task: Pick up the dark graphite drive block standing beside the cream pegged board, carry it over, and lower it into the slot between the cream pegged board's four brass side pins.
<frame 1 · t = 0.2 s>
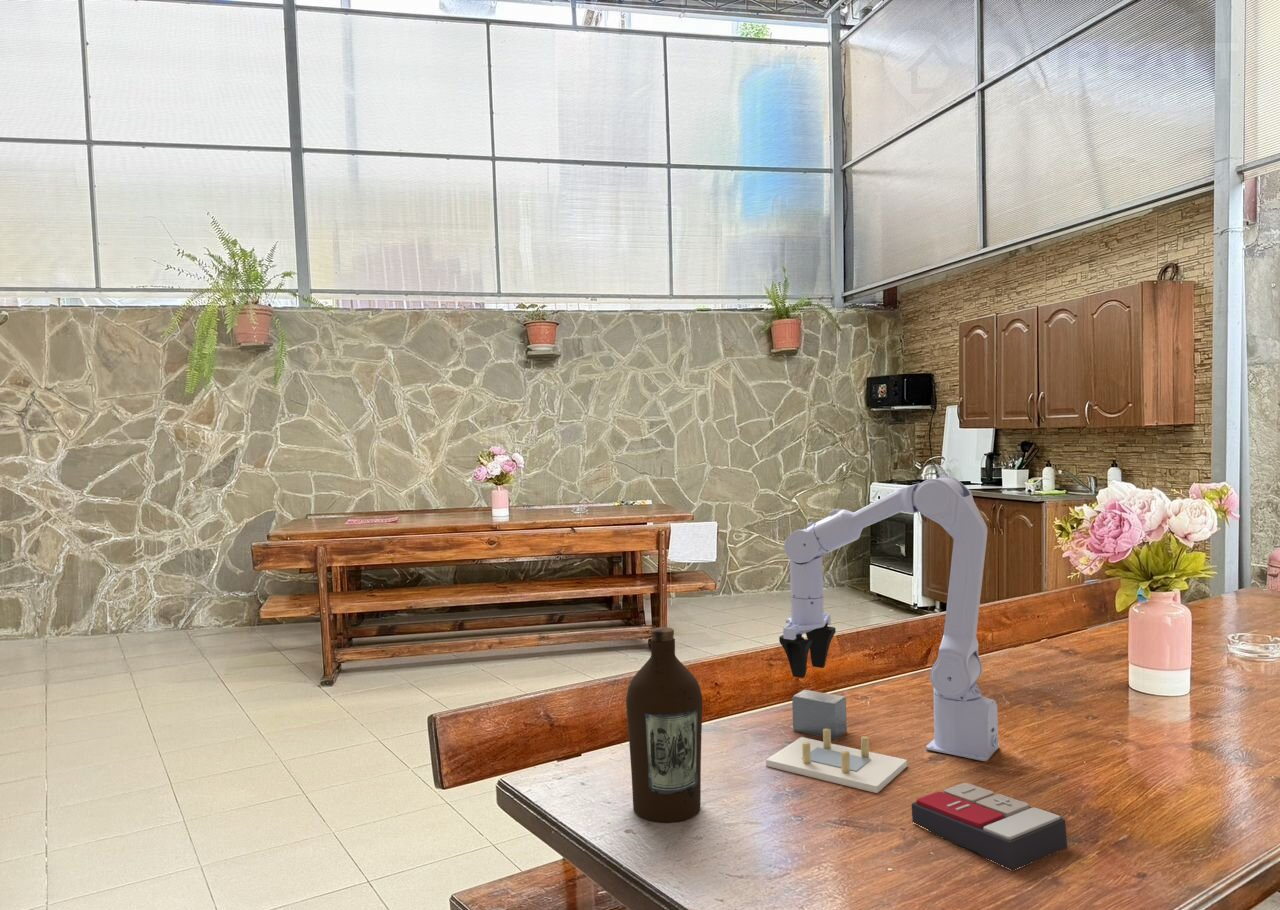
hand: (808, 671, 150), 9 cm above the table, tool pointing down, fingers open, 7 cm apart
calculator: (986, 838, 107), on the table
olive oil: (666, 809, 117), on the table
cream pegged board: (836, 766, 130), on the table
drive: (819, 731, 146), on the table
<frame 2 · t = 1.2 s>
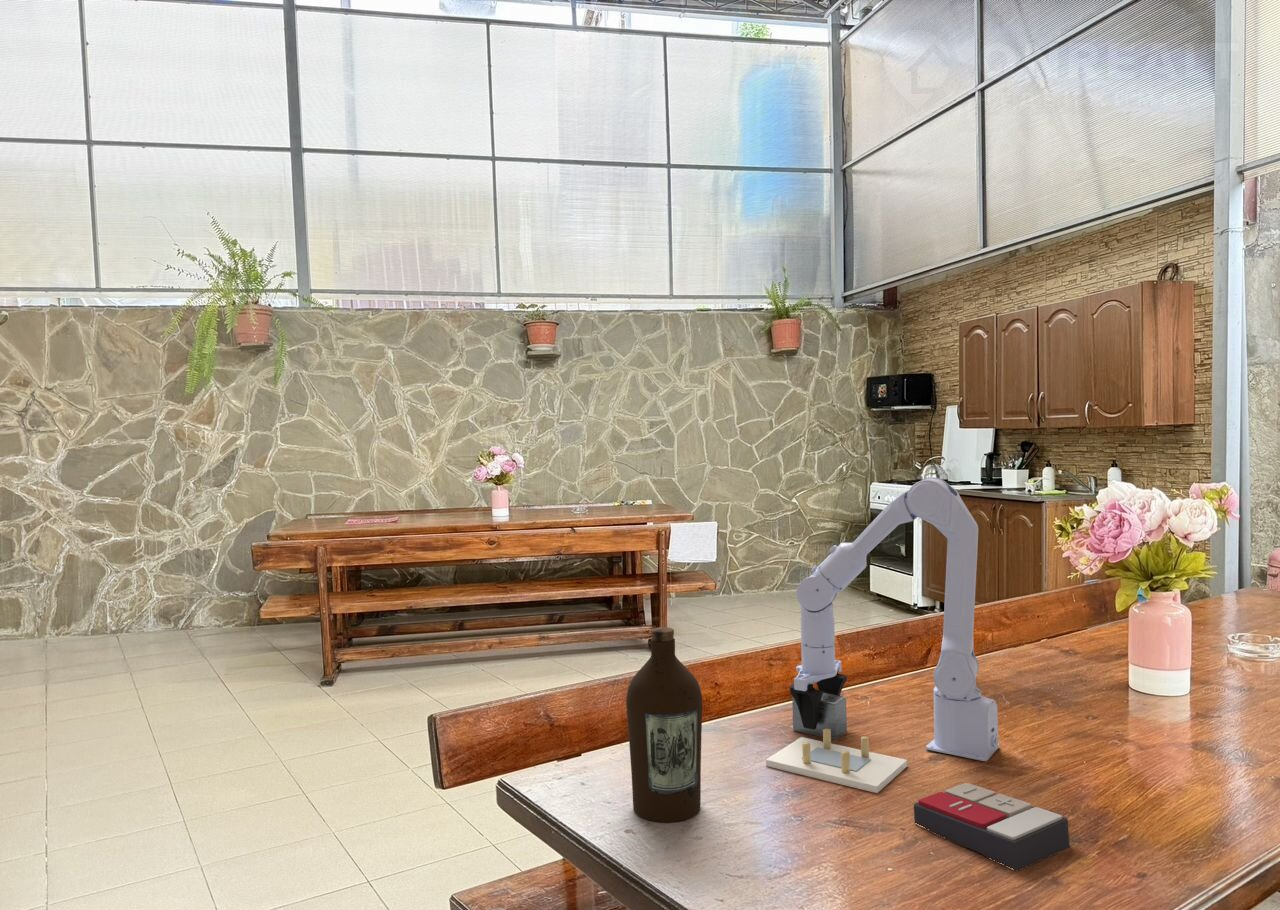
hand: (819, 721, 146), 2 cm above the table, tool pointing down, fingers open, 7 cm apart
nothing on the table moved.
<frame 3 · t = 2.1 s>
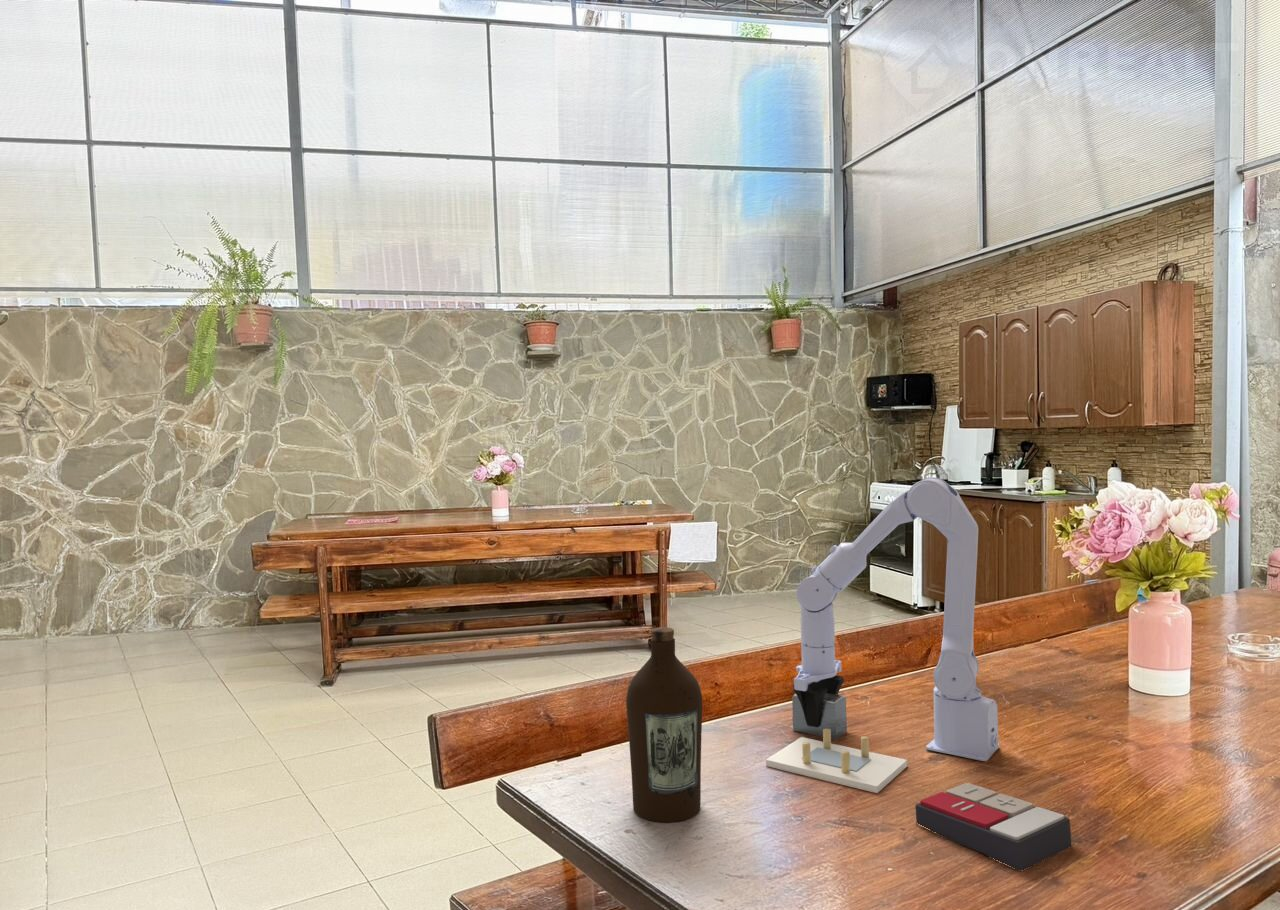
hand: (819, 721, 146), 2 cm above the table, tool pointing down, fingers closed on drive, 4 cm apart
drive: (819, 731, 146), on the table, touching gripper
everything else where it was.
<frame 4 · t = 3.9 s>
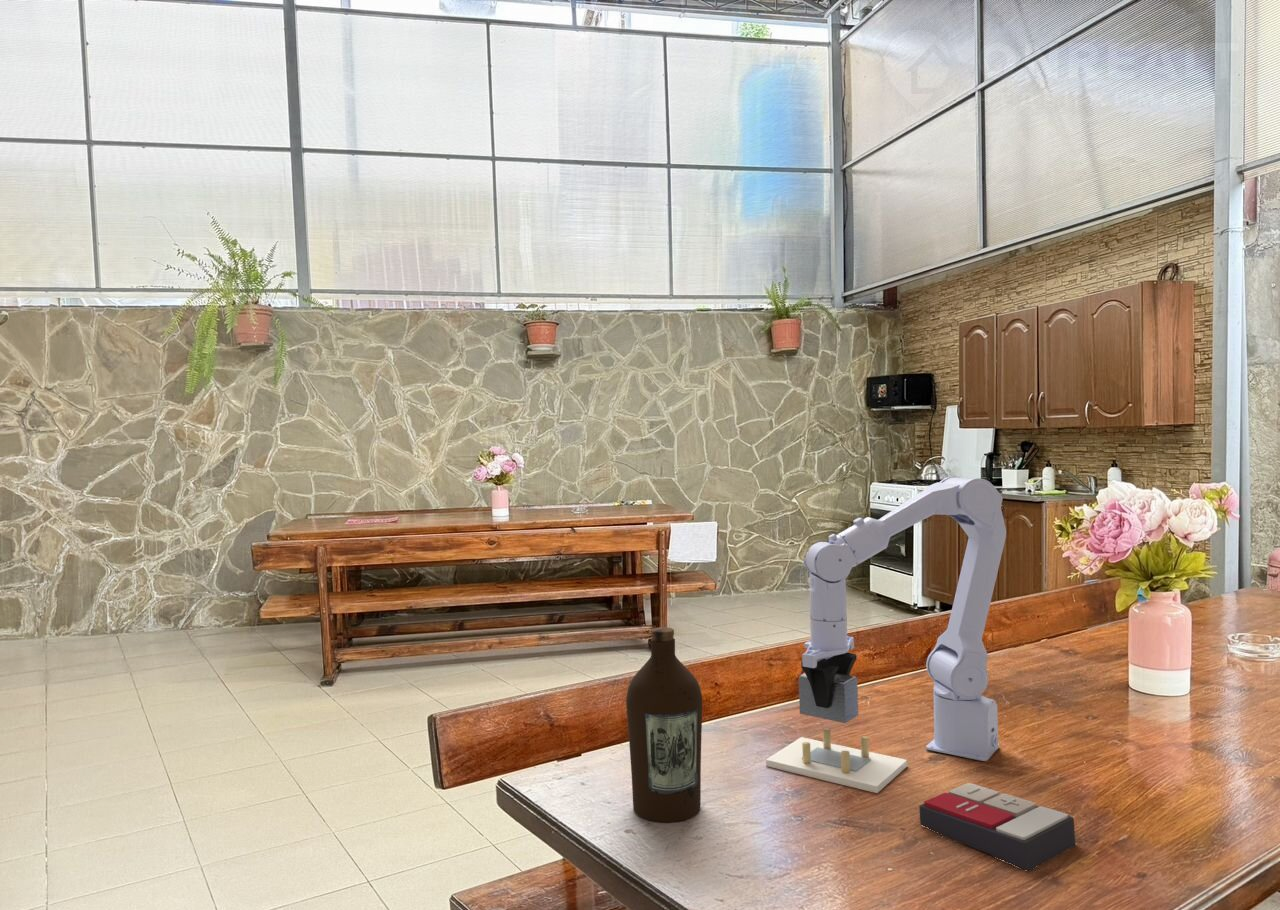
hand: (830, 702, 134), 9 cm above the table, tool pointing down, fingers closed on drive, 5 cm apart
drive: (828, 714, 135), point 7 cm above the table, touching gripper
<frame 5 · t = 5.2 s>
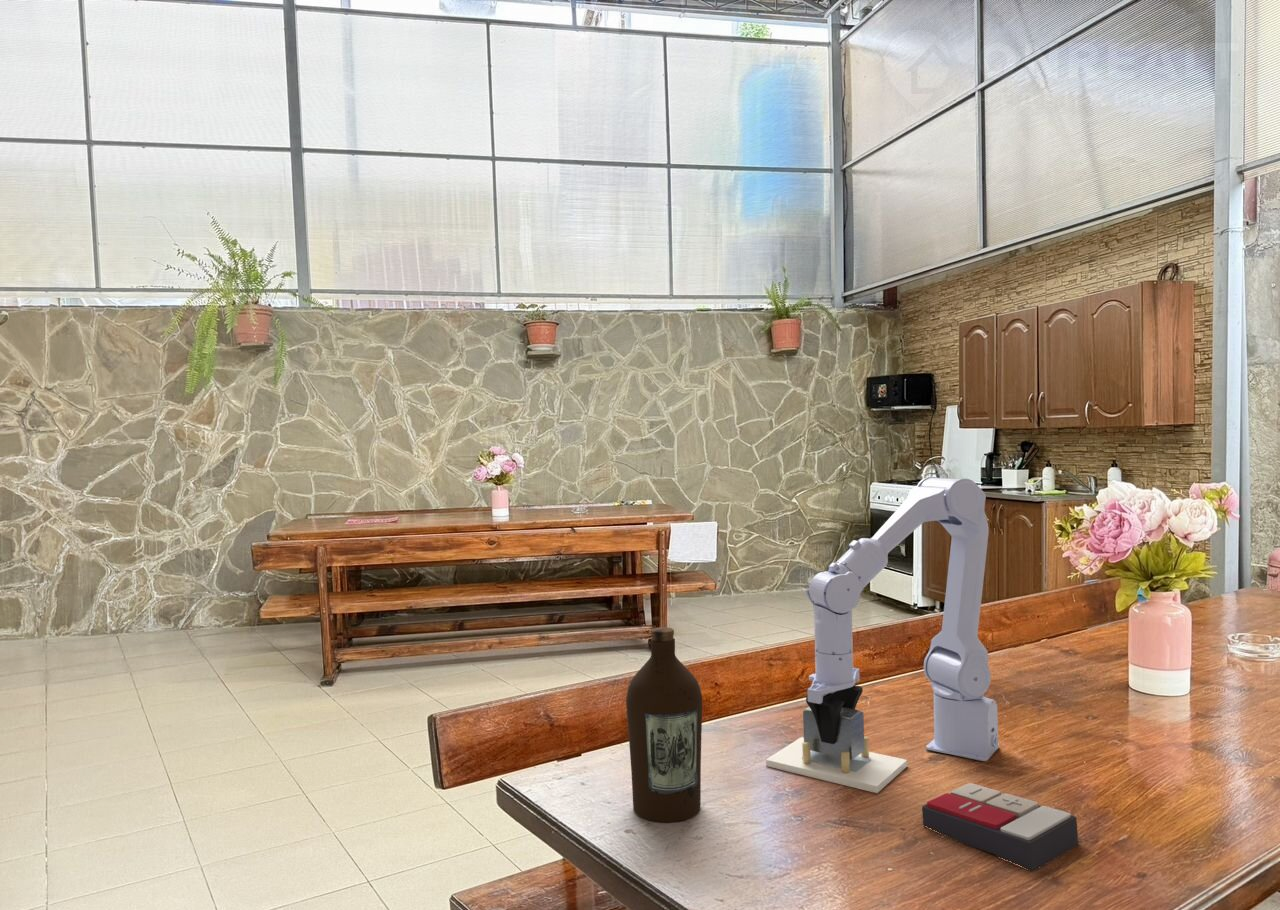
hand: (835, 737, 130), 4 cm above the table, tool pointing down, fingers closed on drive, 5 cm apart
drive: (834, 749, 130), point 2 cm above the table, touching gripper
when the fingers open (4 cm above the table, at t = 6.1 s): drive drops 1 cm, resting on cream pegged board.
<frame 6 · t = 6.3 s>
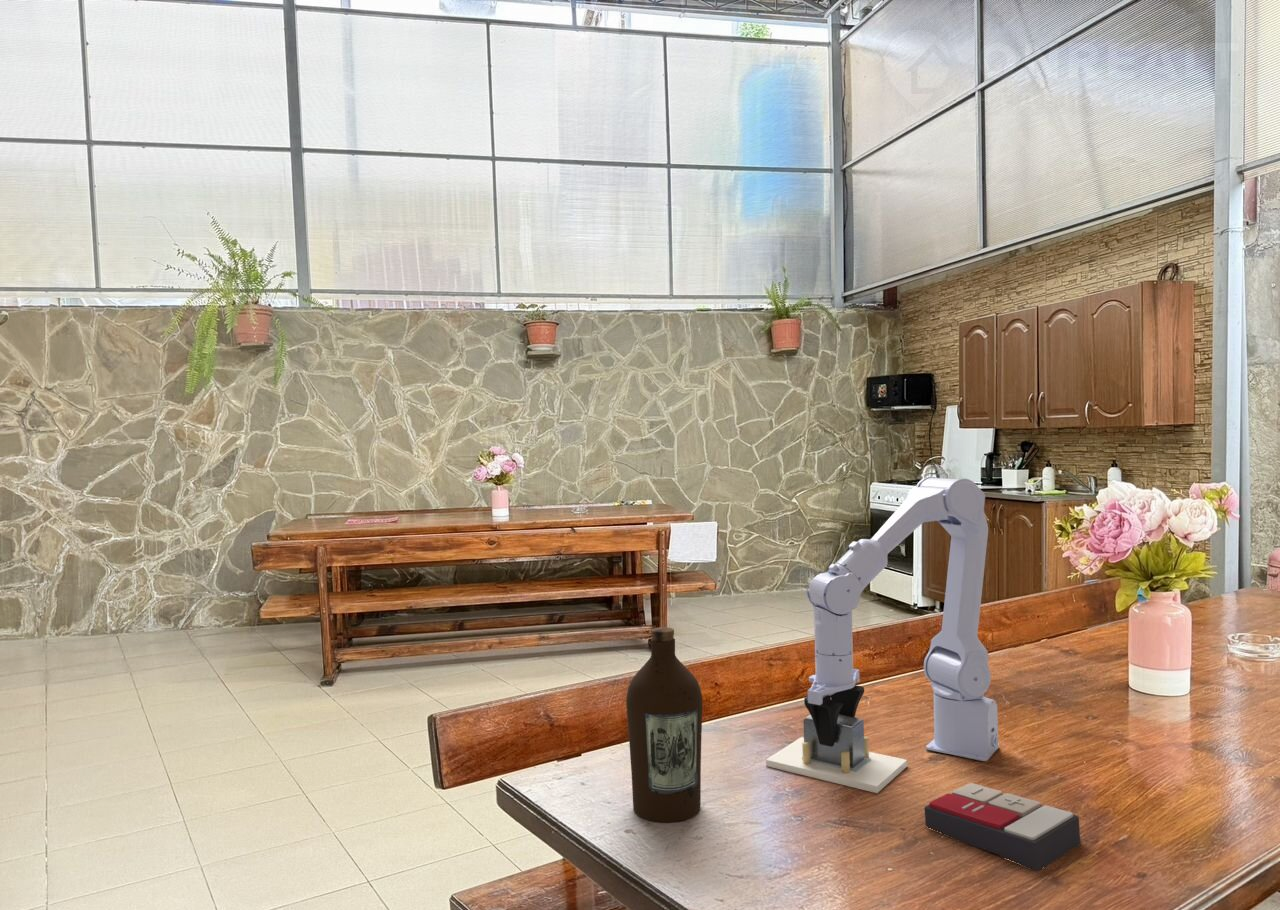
hand: (835, 738, 130), 4 cm above the table, tool pointing down, fingers open, 6 cm apart
drive: (834, 758, 130), point 1 cm above the table, touching cream pegged board
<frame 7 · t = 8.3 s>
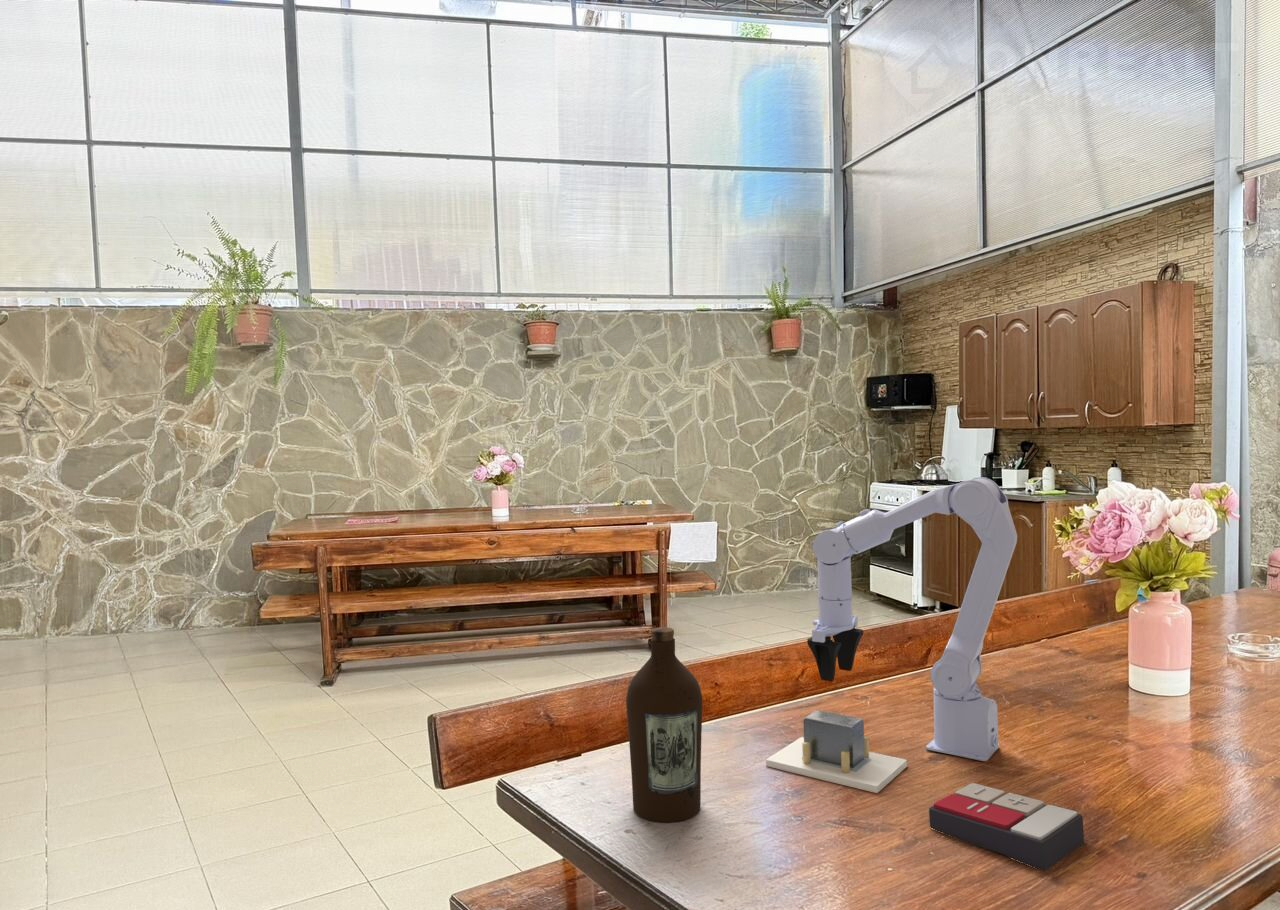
hand: (836, 675, 147), 9 cm above the table, tool pointing down, fingers open, 7 cm apart
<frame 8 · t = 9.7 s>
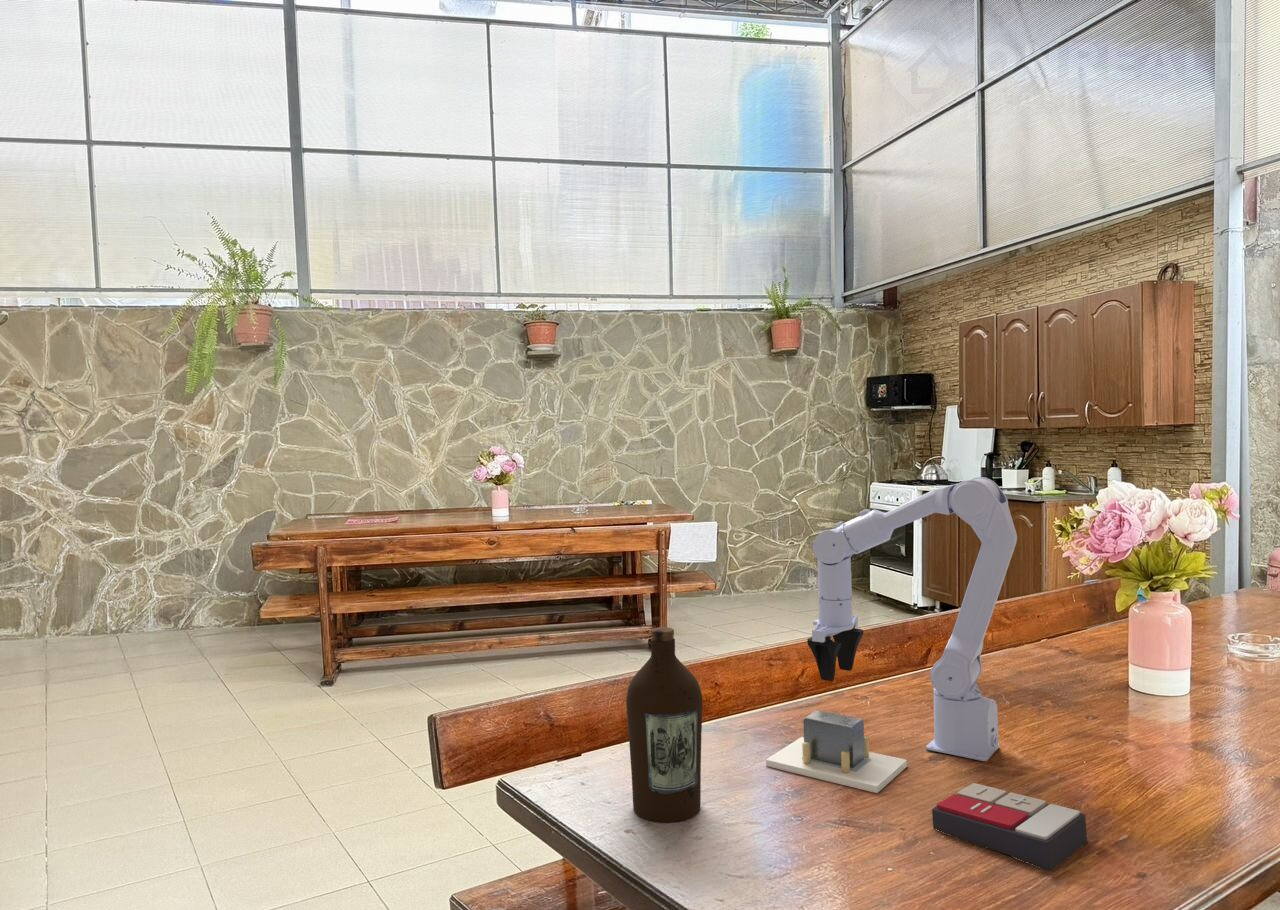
hand: (836, 674, 147), 9 cm above the table, tool pointing down, fingers open, 7 cm apart
at the end: drive 0.3 cm off-centre on the cream pegged board, point 1.2 cm above the cream pegged board's base; drive tilted 0°; the gripper is holding nothing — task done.
